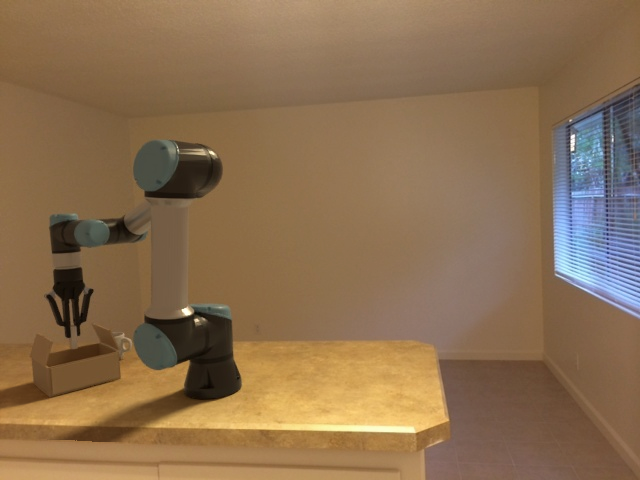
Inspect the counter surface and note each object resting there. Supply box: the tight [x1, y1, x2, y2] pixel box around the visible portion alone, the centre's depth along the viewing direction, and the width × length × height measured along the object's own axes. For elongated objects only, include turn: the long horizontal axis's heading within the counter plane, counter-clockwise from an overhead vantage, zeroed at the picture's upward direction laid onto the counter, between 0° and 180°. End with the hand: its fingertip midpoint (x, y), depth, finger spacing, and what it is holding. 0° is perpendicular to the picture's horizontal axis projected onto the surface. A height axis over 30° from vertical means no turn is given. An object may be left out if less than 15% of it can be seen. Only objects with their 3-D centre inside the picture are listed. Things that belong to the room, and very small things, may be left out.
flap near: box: [29, 332, 54, 367], centre depth 138 cm, size 15×1×7 cm, turn 43°
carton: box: [31, 342, 122, 398], centre depth 144 cm, size 17×19×8 cm
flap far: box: [91, 322, 120, 350], centre depth 150 cm, size 15×1×7 cm, turn 43°
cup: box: [98, 331, 133, 359], centre depth 166 cm, size 11×8×8 cm
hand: (73, 347), depth 144 cm, fingers closed
